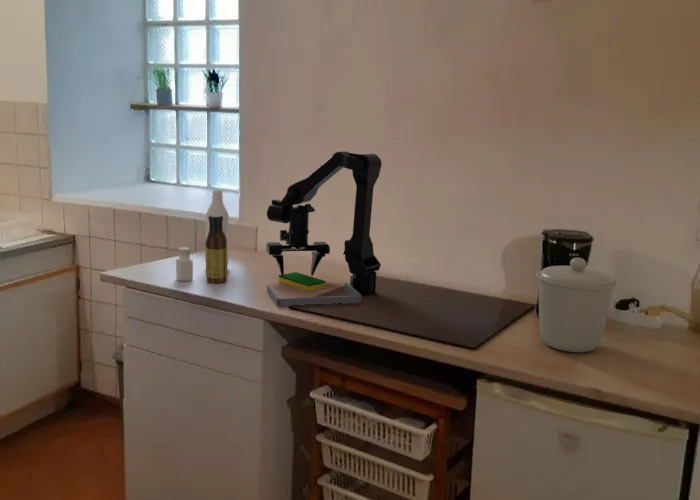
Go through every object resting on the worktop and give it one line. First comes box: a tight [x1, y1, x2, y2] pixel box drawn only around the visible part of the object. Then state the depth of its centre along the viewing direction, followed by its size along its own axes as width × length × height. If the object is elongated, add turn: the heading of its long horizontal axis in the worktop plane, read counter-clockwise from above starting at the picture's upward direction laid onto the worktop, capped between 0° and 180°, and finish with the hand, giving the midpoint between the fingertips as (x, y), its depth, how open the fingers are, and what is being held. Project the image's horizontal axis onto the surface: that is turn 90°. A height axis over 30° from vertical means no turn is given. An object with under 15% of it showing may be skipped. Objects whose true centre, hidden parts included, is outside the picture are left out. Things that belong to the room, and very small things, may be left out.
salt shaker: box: [175, 246, 194, 282], centre depth 211 cm, size 4×4×10 cm
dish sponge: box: [277, 271, 327, 292], centre depth 213 cm, size 7×14×2 cm, turn 45°
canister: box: [535, 257, 619, 353], centre depth 166 cm, size 18×18×21 cm
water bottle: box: [204, 189, 230, 266], centre depth 225 cm, size 7×7×25 cm
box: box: [266, 282, 364, 307], centre depth 199 cm, size 24×15×2 cm, turn 107°
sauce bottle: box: [204, 214, 228, 284], centre depth 210 cm, size 7×6×20 cm
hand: (297, 275), depth 219 cm, fingers open, 9 cm apart
